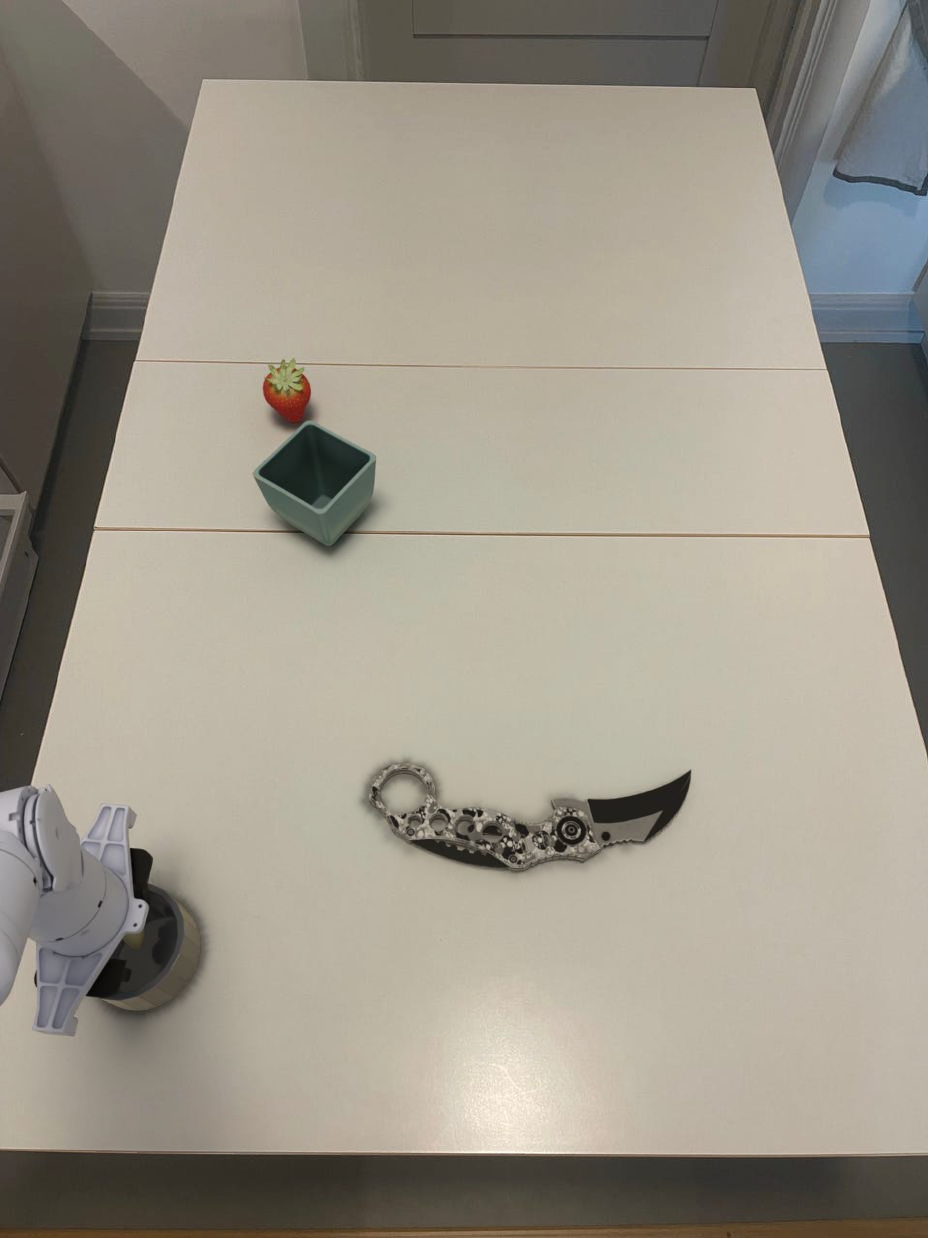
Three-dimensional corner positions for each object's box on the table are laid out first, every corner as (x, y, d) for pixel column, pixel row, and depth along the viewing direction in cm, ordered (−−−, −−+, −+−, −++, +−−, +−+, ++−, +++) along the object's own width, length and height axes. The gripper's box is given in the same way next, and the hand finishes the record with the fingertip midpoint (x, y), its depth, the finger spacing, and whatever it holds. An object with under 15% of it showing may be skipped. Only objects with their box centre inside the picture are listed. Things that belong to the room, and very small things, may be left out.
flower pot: (265, 529, 92) (249, 472, 85) (319, 475, 96) (308, 417, 88) (331, 569, 90) (321, 514, 82) (383, 512, 94) (378, 455, 86)
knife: (693, 765, 78) (704, 877, 73) (689, 773, 80) (699, 883, 74) (374, 748, 79) (360, 857, 73) (375, 755, 80) (362, 864, 74)
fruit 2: (277, 441, 99) (265, 388, 92) (264, 408, 101) (251, 354, 94) (321, 429, 100) (312, 375, 93) (307, 396, 102) (298, 342, 95)
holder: (186, 1015, 68) (167, 1005, 64) (79, 1005, 68) (52, 994, 64) (211, 904, 73) (195, 887, 68) (110, 895, 73) (87, 877, 68)
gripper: (87, 1029, 50) (153, 1052, 62) (154, 786, 58) (202, 848, 69) (-35, 1017, 50) (54, 1043, 62) (48, 777, 58) (114, 840, 70)
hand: (126, 939), depth 66 cm, fingers closed on fruit 1, 4 cm apart
